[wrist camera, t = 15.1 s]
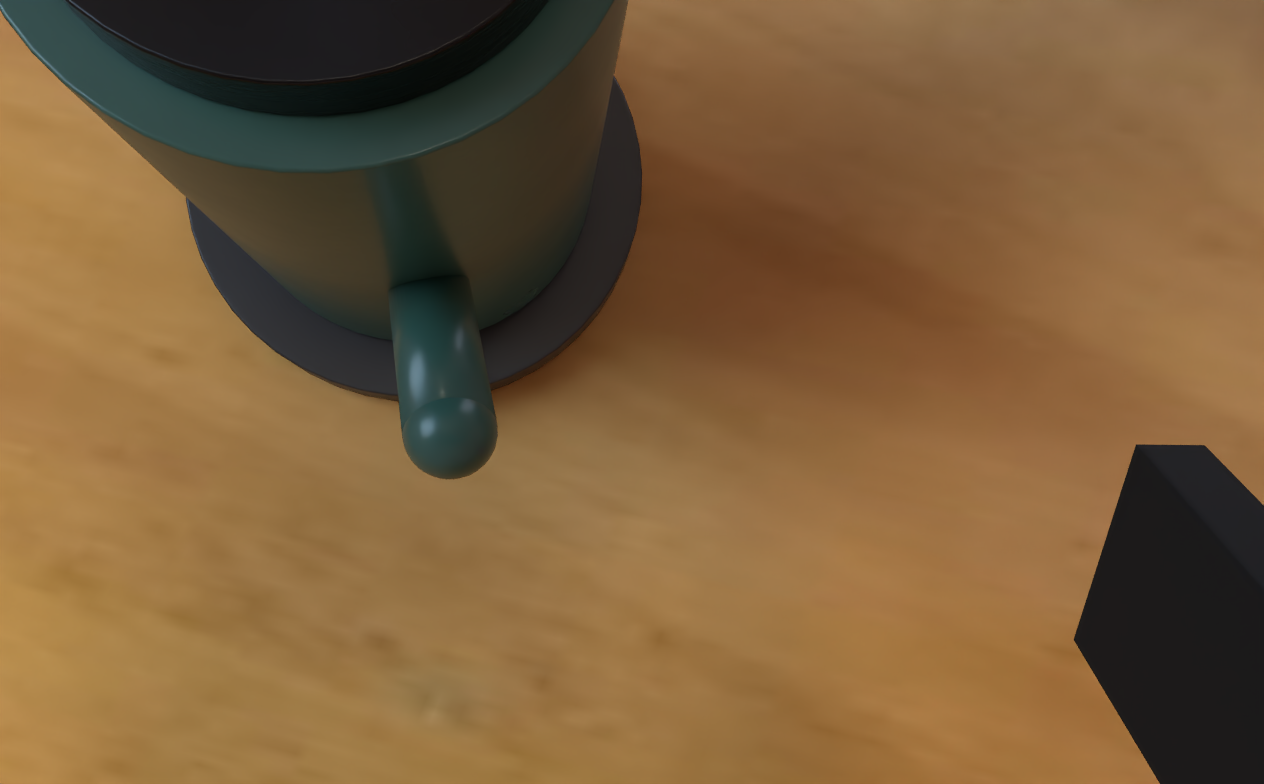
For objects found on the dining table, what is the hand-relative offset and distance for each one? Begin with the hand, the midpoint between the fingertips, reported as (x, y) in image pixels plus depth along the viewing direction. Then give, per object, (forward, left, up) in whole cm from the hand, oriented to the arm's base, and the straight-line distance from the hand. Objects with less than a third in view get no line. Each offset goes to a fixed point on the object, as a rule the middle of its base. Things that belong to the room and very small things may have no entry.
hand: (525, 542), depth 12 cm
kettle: (+3, -10, -18) cm, 21 cm away
